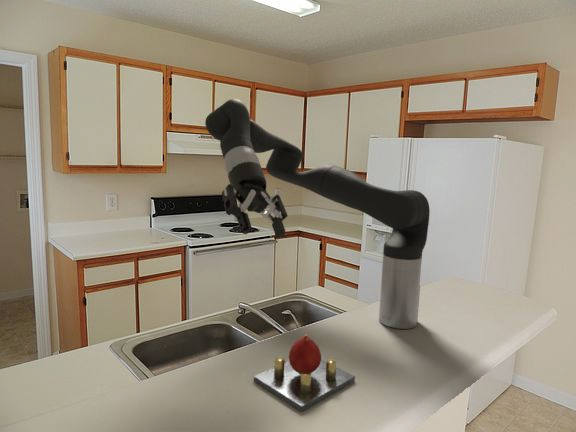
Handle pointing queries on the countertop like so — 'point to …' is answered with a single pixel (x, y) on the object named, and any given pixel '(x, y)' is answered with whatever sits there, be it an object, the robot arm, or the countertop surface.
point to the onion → (304, 355)
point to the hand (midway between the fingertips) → (264, 234)
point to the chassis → (303, 382)
